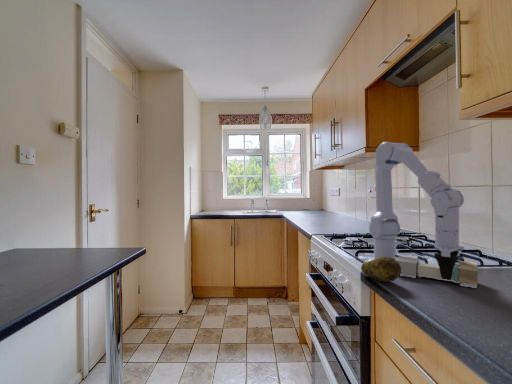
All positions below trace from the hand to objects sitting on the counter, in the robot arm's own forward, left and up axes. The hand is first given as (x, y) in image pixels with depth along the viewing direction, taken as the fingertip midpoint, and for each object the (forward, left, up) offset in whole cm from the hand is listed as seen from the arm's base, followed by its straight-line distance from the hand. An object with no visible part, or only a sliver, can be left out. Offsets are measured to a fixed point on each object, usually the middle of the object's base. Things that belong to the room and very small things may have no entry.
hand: (446, 276), depth 81 cm
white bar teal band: (0, -1, -1) cm, 2 cm away
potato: (+12, -16, -2) cm, 20 cm away
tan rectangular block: (0, +5, -1) cm, 5 cm away
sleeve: (0, -10, -1) cm, 10 cm away
